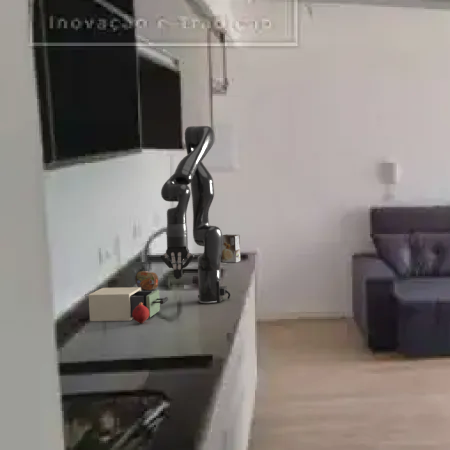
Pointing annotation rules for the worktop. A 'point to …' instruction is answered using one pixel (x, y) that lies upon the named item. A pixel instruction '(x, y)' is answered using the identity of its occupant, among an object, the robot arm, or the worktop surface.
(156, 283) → the tin
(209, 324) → the worktop surface
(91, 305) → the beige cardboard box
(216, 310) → the worktop surface
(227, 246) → the coffee box
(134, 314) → the onion
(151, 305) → the green drawer
